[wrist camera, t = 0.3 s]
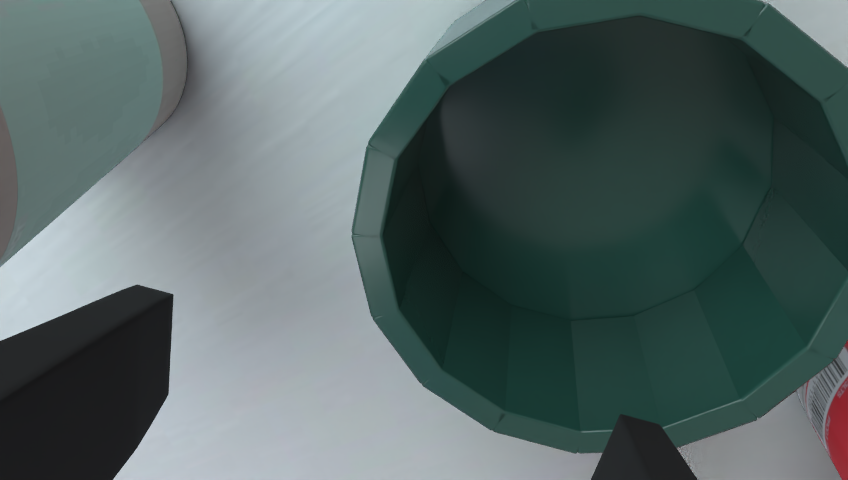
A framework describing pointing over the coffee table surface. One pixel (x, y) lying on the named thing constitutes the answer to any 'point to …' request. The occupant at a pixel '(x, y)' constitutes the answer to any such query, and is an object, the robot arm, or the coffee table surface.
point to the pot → (612, 216)
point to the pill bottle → (830, 409)
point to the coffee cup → (78, 99)
